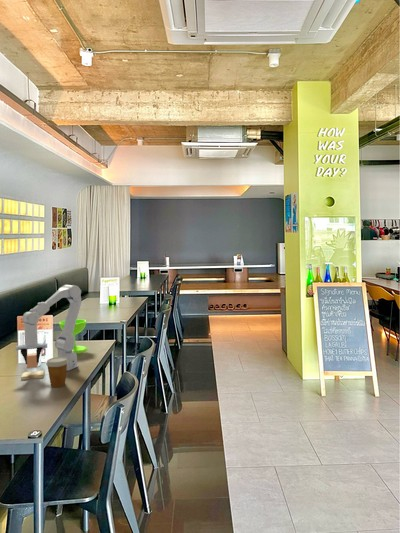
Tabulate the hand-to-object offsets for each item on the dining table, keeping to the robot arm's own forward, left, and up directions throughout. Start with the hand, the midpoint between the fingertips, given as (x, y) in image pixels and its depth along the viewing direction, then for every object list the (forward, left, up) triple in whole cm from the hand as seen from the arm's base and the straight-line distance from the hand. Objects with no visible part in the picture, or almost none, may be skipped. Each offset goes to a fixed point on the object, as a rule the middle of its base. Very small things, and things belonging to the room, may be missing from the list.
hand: (32, 363), depth 201 cm
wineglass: (+13, -46, -7) cm, 49 cm away
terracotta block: (0, 0, -2) cm, 2 cm away
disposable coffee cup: (-21, +5, -7) cm, 22 cm away
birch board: (0, 0, -7) cm, 7 cm away
